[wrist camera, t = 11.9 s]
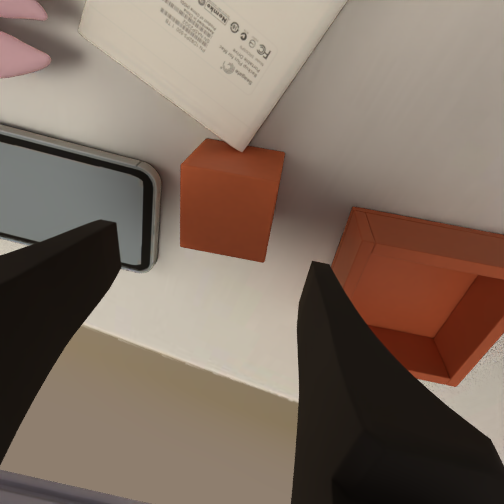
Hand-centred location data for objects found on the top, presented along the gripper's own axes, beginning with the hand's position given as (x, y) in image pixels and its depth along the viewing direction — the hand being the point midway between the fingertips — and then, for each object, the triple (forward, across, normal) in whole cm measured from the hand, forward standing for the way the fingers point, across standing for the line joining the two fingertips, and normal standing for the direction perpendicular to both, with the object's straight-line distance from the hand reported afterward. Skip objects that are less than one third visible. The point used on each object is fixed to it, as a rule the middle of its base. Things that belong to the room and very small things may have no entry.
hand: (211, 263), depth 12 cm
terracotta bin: (+7, -10, +4) cm, 13 cm away
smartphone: (+7, +12, +2) cm, 14 cm away
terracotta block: (+7, 0, 0) cm, 7 cm away
